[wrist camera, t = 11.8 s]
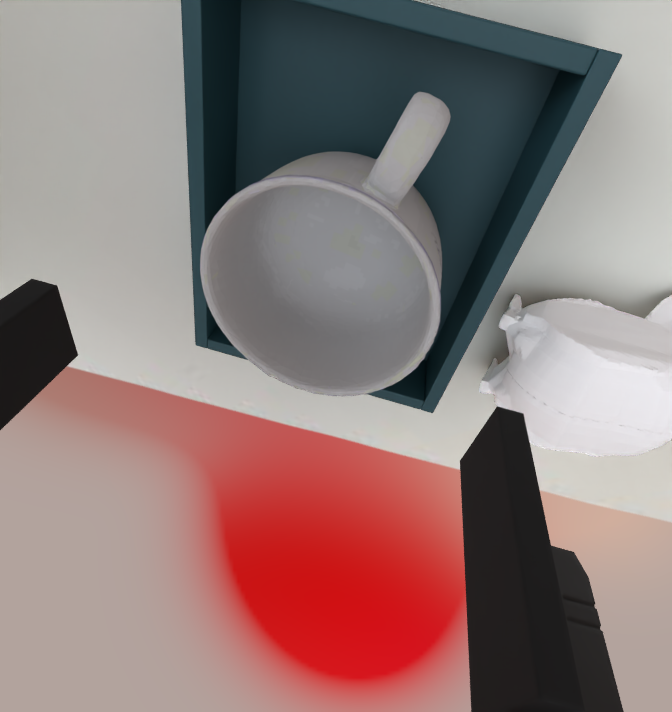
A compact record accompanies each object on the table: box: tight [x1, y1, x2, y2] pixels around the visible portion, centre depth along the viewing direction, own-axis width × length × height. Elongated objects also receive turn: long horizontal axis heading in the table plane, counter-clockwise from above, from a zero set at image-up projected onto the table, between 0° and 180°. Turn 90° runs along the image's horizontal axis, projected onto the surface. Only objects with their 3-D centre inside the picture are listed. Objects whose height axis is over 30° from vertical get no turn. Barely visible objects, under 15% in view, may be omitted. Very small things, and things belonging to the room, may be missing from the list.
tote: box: [181, 0, 622, 413], centre depth 22 cm, size 16×19×5 cm
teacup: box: [200, 92, 451, 396], centre depth 20 cm, size 14×11×8 cm
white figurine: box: [479, 294, 672, 457], centre depth 23 cm, size 9×8×15 cm
